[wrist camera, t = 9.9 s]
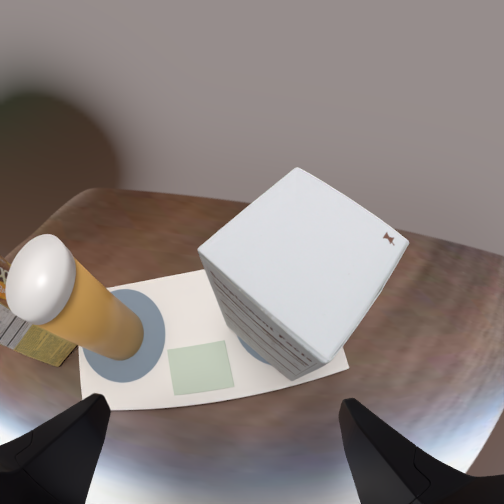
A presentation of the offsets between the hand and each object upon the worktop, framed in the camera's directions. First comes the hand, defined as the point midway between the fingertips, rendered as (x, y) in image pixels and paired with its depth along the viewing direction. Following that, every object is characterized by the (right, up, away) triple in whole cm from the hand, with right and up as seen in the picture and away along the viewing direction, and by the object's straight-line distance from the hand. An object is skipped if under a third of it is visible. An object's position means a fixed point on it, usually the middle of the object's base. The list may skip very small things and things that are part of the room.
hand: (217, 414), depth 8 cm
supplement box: (+4, 0, +14) cm, 15 cm away
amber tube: (-11, -2, +13) cm, 17 cm away
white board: (-4, -2, +15) cm, 15 cm away
